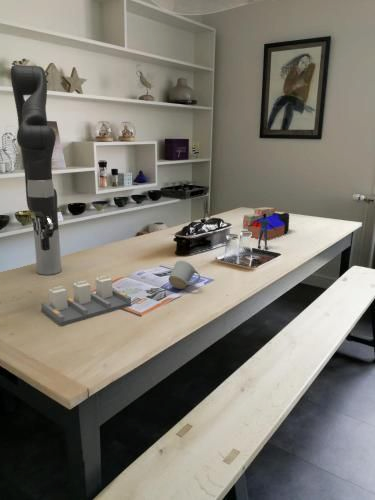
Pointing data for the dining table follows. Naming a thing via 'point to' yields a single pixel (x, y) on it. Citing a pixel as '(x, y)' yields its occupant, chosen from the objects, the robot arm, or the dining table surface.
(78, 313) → the switch bank
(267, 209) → the stack of blocks
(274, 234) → the house
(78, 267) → the dining table surface
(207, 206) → the pliers
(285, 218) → the pen holder
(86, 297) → the off-white rectangular block
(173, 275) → the ceramic mug
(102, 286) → the white rectangular block
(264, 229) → the person figurine
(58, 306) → the cream upright block
